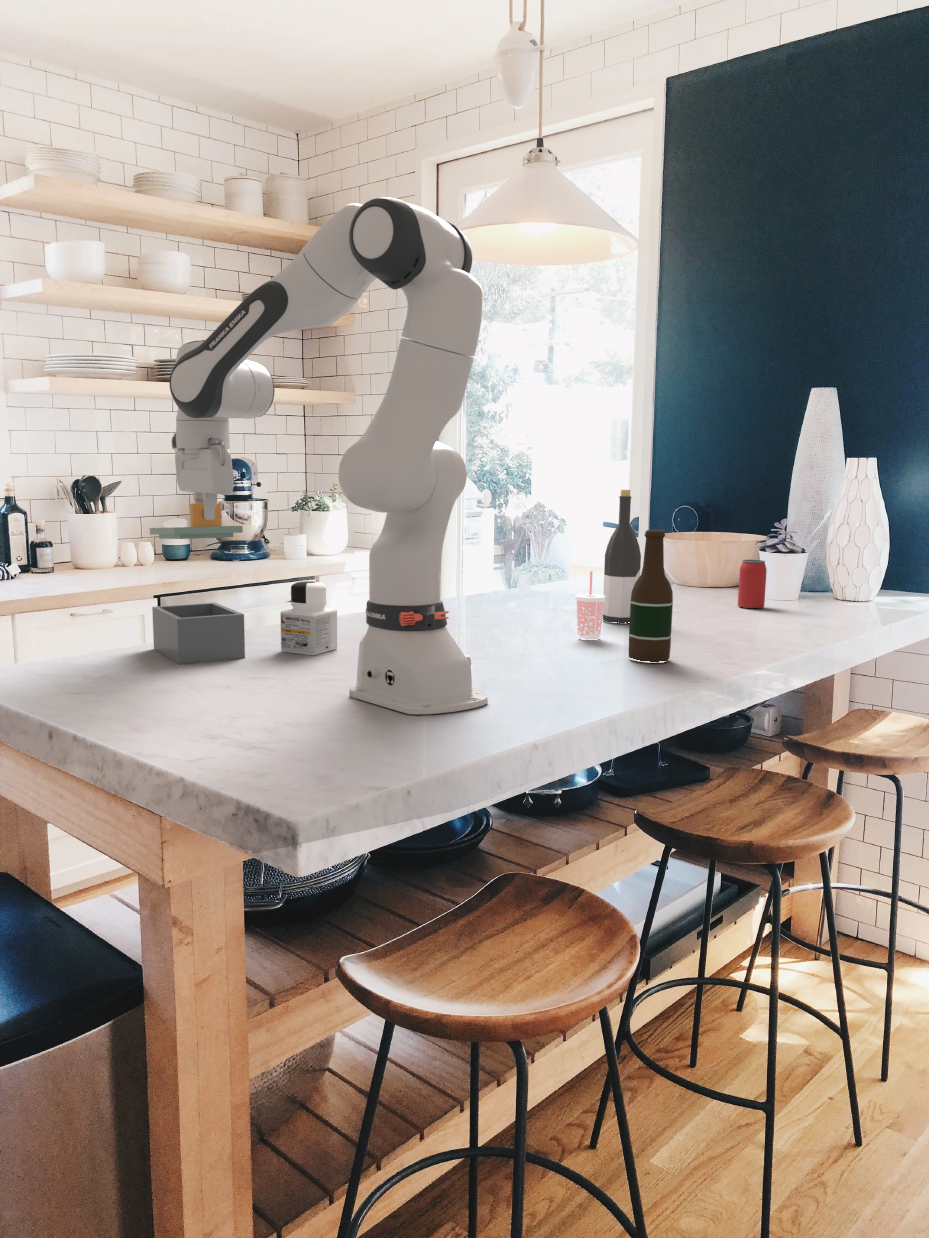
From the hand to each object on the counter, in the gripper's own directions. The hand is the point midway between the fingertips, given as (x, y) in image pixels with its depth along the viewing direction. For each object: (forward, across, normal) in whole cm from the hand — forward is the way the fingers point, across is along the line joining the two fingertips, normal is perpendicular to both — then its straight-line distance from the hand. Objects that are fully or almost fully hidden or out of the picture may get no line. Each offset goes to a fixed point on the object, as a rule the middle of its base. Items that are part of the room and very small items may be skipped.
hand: (205, 519), depth 168 cm
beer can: (+26, -1, -140) cm, 142 cm away
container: (+25, 0, -19) cm, 32 cm away
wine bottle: (+26, -2, -95) cm, 98 cm away
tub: (+25, +7, 0) cm, 26 cm away
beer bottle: (+26, -38, -70) cm, 84 cm away
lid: (+3, +6, 0) cm, 7 cm away
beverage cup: (+26, -16, -74) cm, 80 cm away
